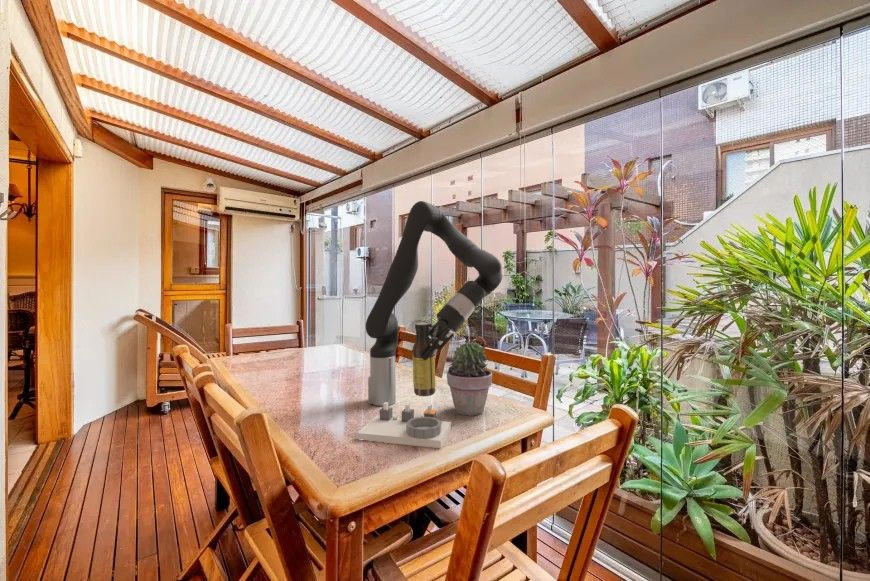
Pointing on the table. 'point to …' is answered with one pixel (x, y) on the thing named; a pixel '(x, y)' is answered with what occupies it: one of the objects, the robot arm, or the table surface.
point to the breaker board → (400, 431)
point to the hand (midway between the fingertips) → (418, 355)
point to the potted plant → (469, 378)
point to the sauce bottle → (423, 363)
